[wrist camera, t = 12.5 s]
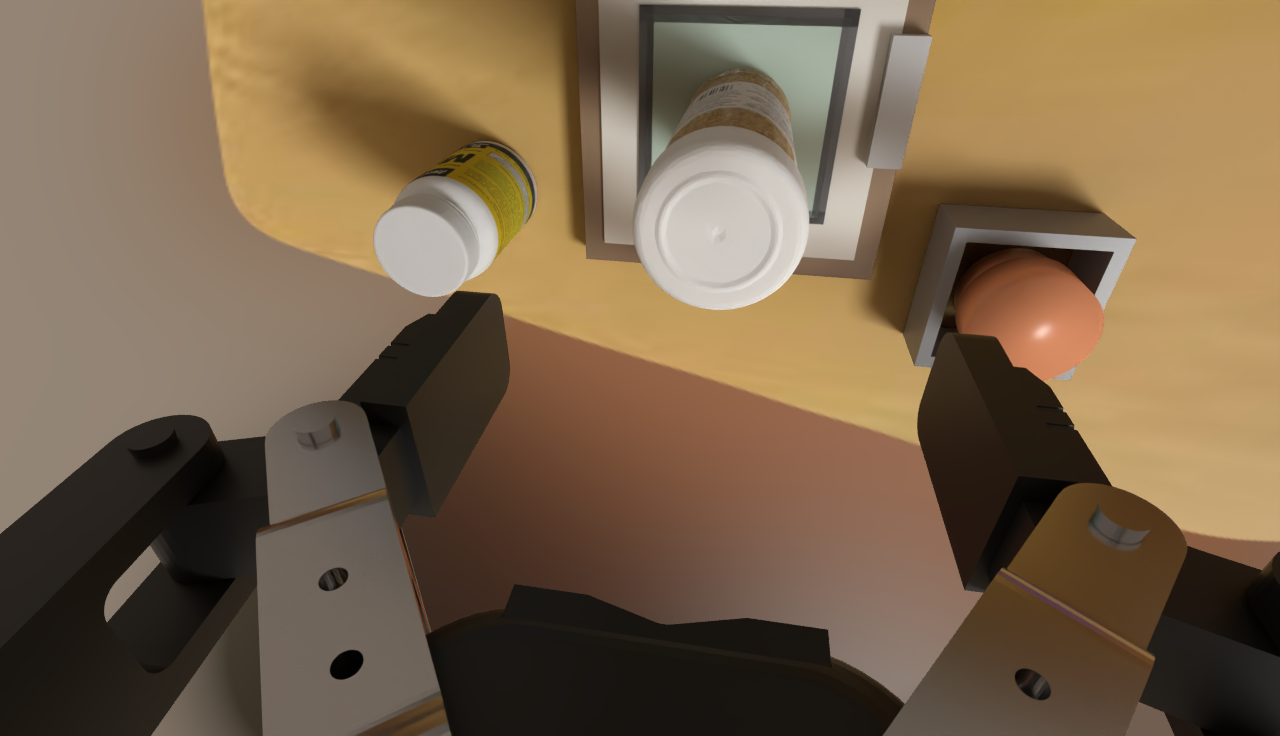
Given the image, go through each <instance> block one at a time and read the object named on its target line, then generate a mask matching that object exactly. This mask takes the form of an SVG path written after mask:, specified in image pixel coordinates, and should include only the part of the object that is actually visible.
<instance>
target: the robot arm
mask: <svg viewBox="0 0 1280 736" xmlns="http://www.w3.org/2000/svg"><path fill="white" fill-rule="evenodd" d="M509 374H510V363H509V354H508V347H507V340H506V333H505V326H504V318H503V311H502V305H501V301H500V298H499V297H498V295H496V294H492V293H480V292H468V291H456V292H454V293H453V294H452V296H451V297H450V298H449V299H448V300H447V301H446V303H445V304H444V305H443V306H442V307H441V309H439V311H438V312H437V313H436V314H427V315H425V316H424V317H422V318H420V319H418V320H416V321H415V322H413V323H411V324H409V325H408V326H406V327H405V328H404V329H403V330H402V331H401V332H400V333H399V334H398V335H397V336H396V338H395V339H394V340H393V341H392V342H391V346H387V347H386V348H385V350H384V351H383V352H382V353H381V354H380V355H379V359H375V361H374V362H373V363H372V364H371V365H370V366H369V367H368V368H367V369H366V370H365V371H364V373H363V374H362V375H361V376H360V377H359V378H358V379H357V380H356V381H355V382H354V384H353V385H352V386H351V387H350V388H349V389H348V390H347V391H346V392H345V393H344V394H343V396H342V397H341V398H340V399H339V400H335V401H322V402H318V403H313V404H309V405H306V406H303V407H301V408H298V409H296V410H294V411H292V412H290V413H288V414H287V415H285V416H284V417H282V418H281V419H280V420H278V421H277V422H276V423H275V424H274V425H273V426H272V427H271V428H270V430H269V431H268V433H267V435H266V436H264V437H255V438H246V439H237V440H228V441H219V442H218V441H217V439H216V437H215V435H214V434H213V431H212V429H211V427H210V425H209V424H208V422H207V421H206V420H204V419H202V418H200V417H197V416H192V415H175V416H167V417H163V418H158V419H154V420H151V421H148V422H145V423H143V424H140V425H138V426H135V427H133V428H131V429H130V430H127V431H125V432H124V433H122V434H121V435H119V436H117V437H116V438H115V439H113V440H112V441H111V442H109V443H108V444H107V445H106V446H105V447H104V448H102V449H101V450H100V451H99V452H98V453H96V454H95V455H94V456H93V457H92V458H91V459H89V460H88V461H87V462H86V463H84V464H83V465H82V466H81V467H80V468H79V469H77V470H76V471H75V472H74V473H72V474H71V475H70V476H69V477H68V478H67V479H65V480H64V481H63V482H62V483H61V484H59V485H58V486H57V487H56V488H55V489H53V490H52V491H51V492H50V493H49V494H47V495H46V496H45V497H44V498H43V499H42V500H40V501H39V502H38V503H37V504H36V505H34V506H33V507H32V508H31V509H30V510H28V511H27V512H26V513H25V514H24V515H22V516H21V517H20V518H19V519H18V520H16V521H15V522H14V523H13V524H12V525H11V526H9V527H8V528H7V529H6V530H4V531H3V532H2V533H1V534H0V736H151V735H152V733H153V732H154V731H155V729H156V728H157V726H158V725H159V723H160V722H161V721H162V719H163V718H164V716H165V715H166V714H167V712H168V711H169V709H170V708H171V706H172V705H173V704H174V702H175V701H176V699H177V698H178V697H179V695H180V694H181V692H182V691H183V689H184V688H185V687H186V685H187V684H188V682H189V681H190V679H191V678H192V677H193V675H194V674H195V673H196V671H197V670H198V668H199V667H200V665H201V664H202V663H203V661H204V660H205V658H206V657H207V656H208V654H209V653H210V651H211V650H212V648H213V647H214V646H215V644H216V643H217V641H218V640H219V639H220V637H221V636H222V634H223V633H224V631H225V630H226V629H227V627H228V626H229V624H230V623H231V622H232V620H233V619H234V617H235V616H236V614H237V613H238V612H239V610H240V609H241V607H242V606H243V604H244V603H245V602H246V600H247V599H248V597H249V596H250V595H251V593H252V592H253V590H254V589H255V587H256V586H257V587H258V588H257V589H258V614H259V640H260V641H259V642H260V668H261V692H262V693H261V695H262V721H263V736H1125V735H1126V732H1127V730H1128V727H1129V725H1130V722H1131V720H1132V717H1133V715H1134V713H1135V710H1136V707H1137V705H1138V702H1141V703H1143V704H1146V705H1148V706H1151V707H1153V708H1155V709H1158V710H1160V711H1163V712H1164V713H1165V715H1166V717H1167V719H1168V722H1169V724H1170V726H1171V728H1172V731H1173V733H1174V735H1175V736H1280V552H1278V553H1277V554H1276V555H1275V556H1274V557H1273V559H1272V560H1271V561H1270V562H1269V563H1268V564H1267V565H1266V567H1265V568H1264V569H1263V570H1259V569H1256V568H1253V567H1250V566H1247V565H1244V564H1241V563H1238V562H1235V561H1232V560H1228V559H1225V558H1222V557H1219V556H1216V555H1213V554H1210V553H1207V552H1204V551H1201V550H1198V549H1195V548H1192V547H1189V546H1187V542H1186V540H1185V537H1184V535H1183V533H1182V532H1181V530H1180V529H1179V527H1178V526H1177V525H1176V524H1175V523H1174V521H1173V520H1172V519H1171V518H1169V517H1168V516H1167V515H1166V514H1165V513H1164V512H1163V511H1161V510H1160V509H1159V508H1157V507H1156V506H1154V505H1153V504H1151V503H1149V502H1148V501H1146V500H1144V499H1142V498H1140V497H1138V496H1137V495H1134V494H1132V493H1130V492H1127V491H1125V490H1122V489H1119V488H1116V487H1112V485H1111V483H1110V482H1109V480H1108V479H1107V477H1106V475H1105V474H1104V472H1103V471H1102V469H1101V467H1100V466H1099V464H1098V463H1097V461H1096V459H1095V458H1094V456H1093V455H1092V453H1091V451H1090V450H1089V448H1088V447H1087V445H1086V443H1085V442H1084V440H1083V439H1082V437H1081V435H1080V434H1079V432H1078V431H1077V430H1074V424H1073V423H1072V421H1071V419H1070V418H1069V416H1068V415H1067V413H1066V412H1063V407H1062V405H1061V403H1060V402H1059V400H1058V399H1057V397H1056V395H1055V394H1054V392H1053V391H1052V389H1051V387H1049V386H1048V385H1047V384H1046V383H1044V382H1043V381H1042V380H1041V379H1039V378H1038V377H1037V376H1035V375H1034V374H1033V373H1032V372H1030V371H1029V370H1028V369H1027V368H1023V367H1014V366H1013V365H1012V363H1011V361H1010V359H1009V358H1008V356H1007V354H1006V352H1005V351H1004V349H1003V347H1002V345H1001V344H1000V342H999V340H998V339H997V338H996V337H994V336H986V335H974V334H962V333H950V332H949V333H946V334H945V335H944V336H943V338H942V340H941V342H940V344H939V347H938V350H937V353H936V356H935V359H934V362H933V366H932V369H931V372H930V375H929V378H928V381H927V384H926V387H925V390H924V393H923V397H922V400H921V403H920V407H919V412H918V422H917V429H918V437H919V441H920V445H921V448H922V451H923V454H924V458H925V461H926V464H927V467H928V471H929V474H930V477H931V481H932V484H933V488H934V491H935V494H936V497H937V501H938V504H939V507H940V511H941V514H942V517H943V521H944V524H945V527H946V531H947V534H948V537H949V540H950V544H951V547H952V550H953V554H954V557H955V560H956V563H957V567H958V570H959V574H960V577H961V580H962V584H963V587H964V590H968V591H975V592H983V594H982V596H981V597H980V599H979V600H978V601H977V603H976V604H975V606H974V607H973V609H972V610H971V611H970V613H969V614H968V616H967V617H966V618H965V620H964V621H963V623H962V624H961V626H960V627H959V629H958V630H957V631H956V633H955V634H954V635H953V637H952V638H951V640H950V641H949V643H948V644H947V646H946V647H945V648H944V650H943V651H942V653H941V654H940V656H939V657H938V658H937V660H936V661H935V663H934V664H933V665H932V667H931V668H930V670H929V671H928V672H927V674H926V675H925V677H924V678H923V679H922V681H921V682H920V684H919V685H918V686H917V688H916V689H915V691H914V692H913V693H912V695H911V696H910V698H909V699H908V701H907V702H906V703H905V704H904V703H903V702H902V701H901V700H900V699H899V698H898V697H896V696H895V695H894V694H893V693H892V692H890V691H889V690H888V689H887V688H885V687H884V686H883V685H881V684H880V683H879V682H877V681H876V680H874V679H872V678H871V677H870V676H868V675H866V674H865V673H863V672H862V671H860V670H858V669H856V668H854V667H852V666H850V665H848V664H847V663H845V662H843V661H840V660H838V659H835V658H833V657H830V648H829V636H828V630H825V629H819V628H812V627H805V626H798V625H792V624H785V623H778V622H771V621H764V620H757V619H750V618H742V619H731V620H719V621H708V622H696V623H685V624H674V625H665V624H659V623H656V622H653V621H651V620H648V619H646V618H644V617H641V616H639V615H636V614H634V613H631V612H629V611H626V610H624V609H621V608H619V607H616V606H614V605H612V604H609V603H607V602H604V601H601V600H599V599H596V598H594V597H592V596H589V595H585V594H578V593H571V592H564V591H557V590H550V589H543V588H537V587H530V586H523V585H516V584H515V585H514V587H513V589H512V592H511V595H510V597H509V600H508V603H507V605H506V608H501V609H494V610H489V611H484V612H479V613H476V614H473V615H470V616H466V617H463V618H460V619H458V620H455V621H453V622H451V623H449V624H446V625H444V626H441V627H440V628H438V629H436V630H434V631H433V632H431V630H430V627H429V623H428V620H427V616H426V613H425V609H424V605H423V602H422V599H421V595H420V591H419V588H418V584H417V581H416V577H415V574H414V570H413V567H412V563H411V560H410V556H409V553H408V549H407V545H406V542H405V538H404V535H403V532H402V528H401V527H402V525H403V524H404V522H405V520H406V519H407V517H408V515H409V514H413V515H420V516H429V517H436V515H437V513H438V511H439V509H440V508H441V506H442V504H443V503H444V501H445V499H446V497H447V495H448V494H449V492H450V490H451V488H452V487H453V485H454V483H455V481H456V480H457V478H458V476H459V474H460V472H461V471H462V469H463V467H464V465H465V464H466V462H467V460H468V458H469V457H470V455H471V453H472V451H473V449H474V447H475V446H476V444H477V442H478V441H479V439H480V437H481V435H482V434H483V432H484V430H485V428H486V426H487V425H488V423H489V421H490V419H491V417H492V416H493V414H494V412H495V411H496V408H497V407H498V405H499V403H500V402H501V400H502V398H503V396H504V394H505V392H506V390H507V386H508V382H509ZM149 545H150V546H151V547H152V549H153V551H154V552H155V554H156V555H157V557H158V558H159V560H160V561H161V562H160V563H159V564H158V566H157V567H156V568H155V569H154V570H153V571H152V572H151V574H150V575H149V576H148V577H147V578H146V579H145V580H144V581H143V583H142V584H141V585H140V586H139V587H138V588H137V589H136V590H135V592H134V593H133V594H132V595H131V596H130V597H129V598H128V599H127V601H126V602H125V603H124V604H123V605H122V606H121V607H120V609H119V610H118V611H117V612H116V613H115V614H114V615H113V616H112V618H111V619H110V620H109V621H108V622H106V620H105V617H104V605H105V601H106V598H107V595H108V593H109V591H110V589H111V588H112V586H113V584H114V583H115V582H116V581H117V580H118V579H119V578H120V577H121V575H122V574H123V573H124V572H125V571H126V570H127V569H128V568H129V567H130V566H131V565H132V564H133V562H134V561H135V560H136V559H137V558H138V557H139V556H140V555H141V554H142V553H143V552H144V550H146V549H147V547H148V546H149Z"/></svg>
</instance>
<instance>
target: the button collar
mask: <svg viewBox="0 0 1280 736" xmlns="http://www.w3.org/2000/svg"><path fill="white" fill-rule="evenodd" d="M1136 240H1137V239H1136V238H1135V237H1134V236H1132V235H1131V234H1130V233H1128V232H1127V231H1126V230H1125V229H1123V228H1122V227H1121V226H1120V225H1118V224H1117V223H1116V222H1114V221H1113V220H1112V219H1111V218H1109V217H1108V216H1107V215H1106V214H1104V213H1090V212H1073V211H1056V210H1039V209H1022V208H1005V207H988V206H971V205H953V204H939V207H938V211H937V214H936V218H935V222H934V225H933V229H932V232H931V236H930V240H929V243H928V247H927V250H926V254H925V258H924V261H923V265H922V268H921V272H920V276H919V279H918V283H917V286H916V290H915V293H914V297H913V301H912V304H911V308H910V311H909V315H908V319H907V322H906V326H905V329H904V333H903V336H904V338H905V341H906V344H907V347H908V350H909V352H910V355H911V358H912V361H913V363H914V366H921V367H932V366H933V362H934V359H935V356H936V353H937V350H938V347H939V344H940V342H941V340H942V338H943V336H944V335H945V334H946V333H949V332H950V333H959V332H958V329H954V328H942V327H940V325H941V322H942V319H943V316H944V313H945V309H946V306H947V303H948V300H949V297H950V293H951V290H952V287H953V284H954V281H955V277H956V274H957V271H958V268H959V265H960V262H961V258H962V255H963V252H964V249H965V246H966V242H974V243H990V244H1005V245H1020V246H1035V247H1050V248H1066V249H1074V251H1073V253H1072V256H1071V258H1070V261H1069V263H1068V265H1067V268H1069V269H1070V270H1071V271H1072V272H1073V273H1074V274H1075V275H1076V276H1077V277H1078V278H1079V280H1080V281H1081V282H1082V283H1083V284H1084V285H1085V286H1086V287H1087V288H1088V289H1089V290H1090V291H1091V292H1092V293H1093V294H1094V296H1095V297H1096V298H1097V299H1098V301H1099V303H1100V304H1101V307H1102V310H1103V309H1104V307H1105V305H1106V303H1107V301H1108V299H1109V297H1110V295H1111V293H1112V290H1113V288H1114V286H1115V284H1116V282H1117V280H1118V278H1119V276H1120V273H1121V271H1122V269H1123V267H1124V265H1125V263H1126V261H1127V259H1128V257H1129V254H1130V252H1131V250H1132V248H1133V246H1134V244H1135V242H1136ZM1076 367H1077V365H1076V366H1075V367H1074V368H1072V369H1070V370H1069V371H1067V372H1065V373H1063V374H1061V375H1059V376H1057V377H1054V378H1053V379H1064V380H1070V379H1071V377H1072V375H1073V373H1074V371H1075V369H1076Z"/></svg>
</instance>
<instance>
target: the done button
mask: <svg viewBox="0 0 1280 736" xmlns="http://www.w3.org/2000/svg"><path fill="white" fill-rule="evenodd" d="M954 306H955V310H956V316H955V318H956V326H957V329H958V332H959V333H962V334H974V335H986V336H994V337H996V338H997V339H998V340H999V342H1000V344H1001V345H1002V347H1003V349H1004V351H1005V352H1006V354H1007V356H1008V358H1009V359H1010V361H1011V363H1012V365H1013V366H1014V367H1023V368H1027V369H1028V370H1029V371H1030V372H1032V373H1033V374H1034V375H1035V376H1037V377H1038V378H1039V379H1041V380H1042V381H1044V380H1048V379H1051V378H1054V377H1057V376H1059V375H1061V374H1063V373H1065V372H1067V371H1069V370H1070V369H1072V368H1074V367H1075V366H1076V365H1078V364H1079V363H1080V362H1082V361H1083V360H1084V359H1085V358H1086V357H1087V356H1088V355H1089V354H1090V353H1091V352H1092V350H1093V349H1094V348H1095V346H1096V344H1097V343H1098V341H1099V339H1100V337H1101V334H1102V331H1103V326H1104V314H1103V310H1102V307H1101V304H1100V303H1099V301H1098V299H1097V298H1096V297H1095V296H1094V294H1093V293H1092V292H1091V291H1090V290H1089V289H1088V288H1087V287H1086V286H1085V285H1084V284H1083V283H1082V282H1081V281H1080V280H1079V278H1078V277H1077V276H1076V275H1075V274H1074V273H1073V272H1072V271H1071V270H1070V269H1069V268H1067V267H1066V266H1065V265H1063V264H1061V263H1060V262H1057V261H1055V260H1052V259H1048V258H1047V257H1046V256H1044V255H1043V254H1041V253H1039V252H1036V251H1034V250H1030V249H1023V248H1013V249H1005V250H1000V251H997V252H994V253H992V254H989V255H987V256H985V257H983V258H982V259H980V260H978V261H977V262H976V263H974V264H973V265H972V266H971V267H970V268H969V269H968V270H967V271H966V272H965V273H964V274H963V276H962V277H961V279H960V280H959V282H958V284H957V287H956V289H955V294H954Z"/></svg>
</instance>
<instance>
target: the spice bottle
mask: <svg viewBox="0 0 1280 736" xmlns="http://www.w3.org/2000/svg"><path fill="white" fill-rule="evenodd" d="M632 233H633V240H634V244H635V248H636V251H637V254H638V257H639V259H640V261H641V263H642V265H643V267H644V268H645V270H646V272H647V273H648V274H649V276H650V277H651V278H652V279H653V281H654V282H655V283H656V284H657V285H658V286H659V287H660V288H661V289H662V290H664V291H665V292H666V293H668V294H669V295H671V296H673V297H674V298H676V299H678V300H680V301H682V302H684V303H687V304H689V305H692V306H695V307H699V308H704V309H712V310H728V309H735V308H740V307H744V306H747V305H750V304H753V303H756V302H758V301H760V300H762V299H764V298H766V297H767V296H769V295H770V294H772V293H773V292H775V291H776V290H777V289H779V288H780V287H781V286H782V285H783V284H784V283H785V282H786V281H787V280H788V278H789V277H790V276H791V275H792V274H793V272H794V271H795V269H796V267H797V266H798V264H799V262H800V260H801V258H802V256H803V254H804V251H805V248H806V244H807V240H808V233H809V209H808V201H807V194H806V189H805V186H804V182H803V179H802V176H801V174H800V172H799V170H798V168H797V163H796V155H795V149H794V143H793V134H792V128H791V112H790V109H789V105H788V100H787V98H786V96H785V94H784V92H783V90H782V89H781V88H780V87H779V86H778V85H777V83H776V82H775V81H774V80H773V79H772V78H770V77H768V76H766V75H765V74H763V73H761V72H759V71H756V70H752V69H745V68H736V69H729V70H726V71H724V72H721V73H718V74H716V75H715V76H714V77H711V78H710V79H708V80H707V81H706V82H704V83H703V84H702V85H701V87H700V88H699V89H698V90H697V91H696V93H695V94H694V96H693V97H692V99H691V101H690V104H689V107H688V109H687V110H686V112H685V114H684V115H683V117H682V119H681V121H680V123H679V124H678V126H677V128H676V130H675V131H674V133H673V135H672V137H671V139H670V141H669V143H668V145H667V147H666V149H665V150H664V151H663V152H662V153H661V154H660V156H659V157H658V158H657V159H656V161H655V162H654V164H653V165H652V167H651V168H650V170H649V172H648V174H647V176H646V178H645V180H644V182H643V184H642V186H641V189H640V191H639V193H638V196H637V199H636V202H635V206H634V211H633V219H632Z"/></svg>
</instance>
